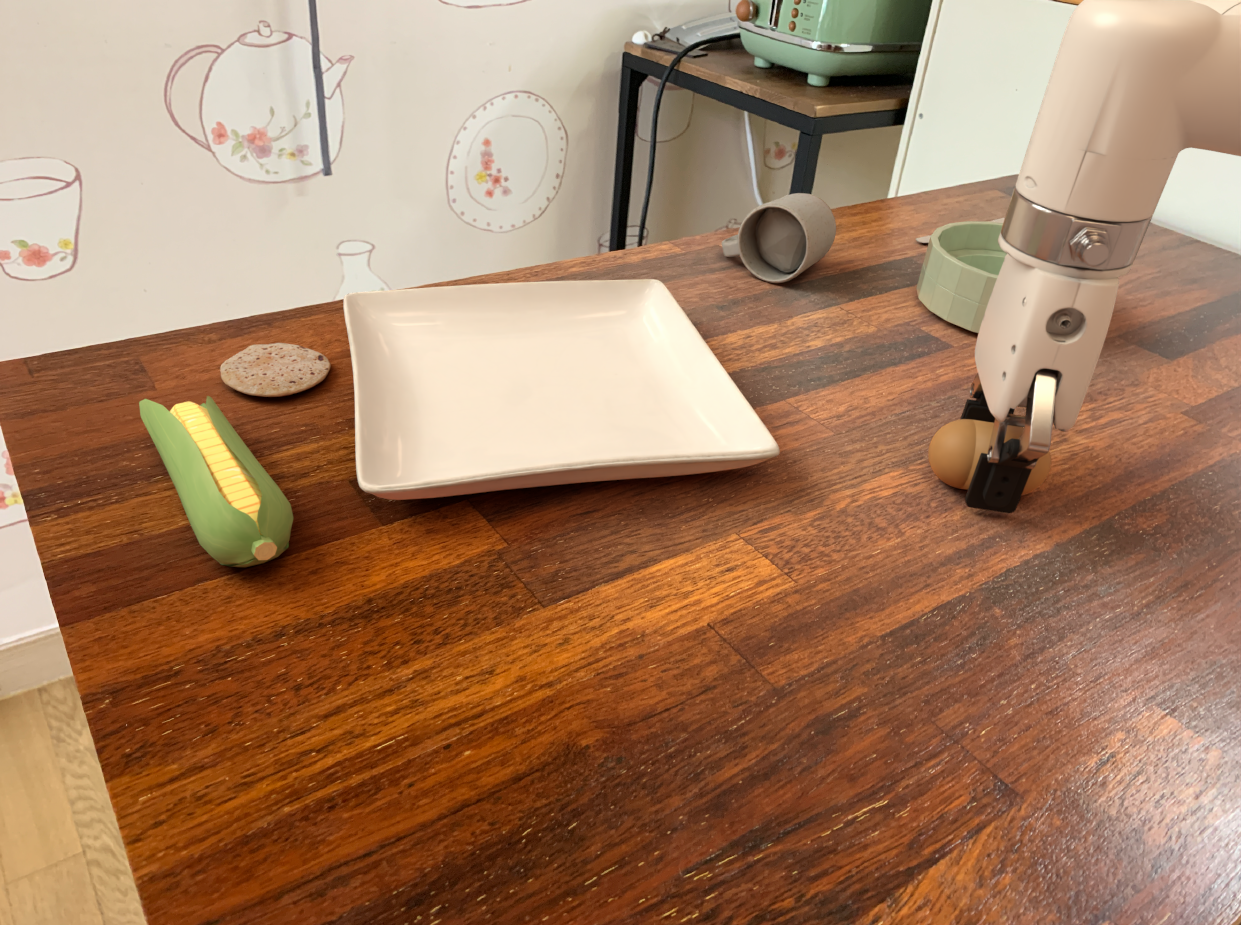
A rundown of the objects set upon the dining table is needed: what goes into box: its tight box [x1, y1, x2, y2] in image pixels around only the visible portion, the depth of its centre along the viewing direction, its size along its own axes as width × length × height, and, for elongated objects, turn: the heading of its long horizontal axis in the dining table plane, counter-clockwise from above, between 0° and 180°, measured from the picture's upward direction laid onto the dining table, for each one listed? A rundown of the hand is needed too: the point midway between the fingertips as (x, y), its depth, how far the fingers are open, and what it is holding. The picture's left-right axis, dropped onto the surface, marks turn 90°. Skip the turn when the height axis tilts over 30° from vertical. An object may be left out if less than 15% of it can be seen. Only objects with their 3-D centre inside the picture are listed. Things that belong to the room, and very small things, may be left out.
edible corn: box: [138, 395, 294, 568], centre depth 57 cm, size 5×20×5 cm, turn 36°
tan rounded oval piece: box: [927, 418, 1052, 496], centre depth 64 cm, size 8×5×5 cm, turn 80°
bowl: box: [915, 220, 1007, 334], centre depth 88 cm, size 15×15×6 cm
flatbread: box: [219, 342, 332, 398], centre depth 70 cm, size 8×8×1 cm
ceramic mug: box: [721, 192, 837, 284], centre depth 92 cm, size 11×8×8 cm
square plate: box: [342, 278, 781, 501], centre depth 69 cm, size 27×27×4 cm
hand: (981, 476), depth 65 cm, fingers open, 6 cm apart
